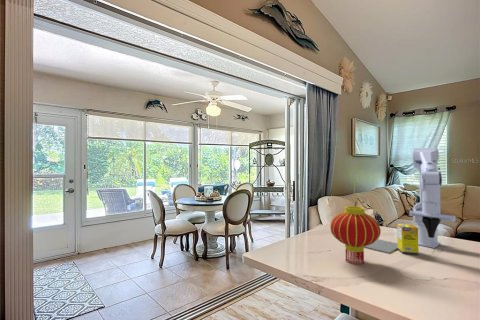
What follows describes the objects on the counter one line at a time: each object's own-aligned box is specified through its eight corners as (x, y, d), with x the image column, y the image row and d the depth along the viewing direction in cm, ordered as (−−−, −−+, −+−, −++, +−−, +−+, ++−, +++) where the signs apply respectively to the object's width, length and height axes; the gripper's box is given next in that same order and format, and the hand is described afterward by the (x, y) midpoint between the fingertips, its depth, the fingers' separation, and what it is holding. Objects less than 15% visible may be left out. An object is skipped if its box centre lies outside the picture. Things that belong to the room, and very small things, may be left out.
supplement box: (418, 255, 106) (418, 227, 106) (402, 253, 107) (401, 226, 107) (413, 250, 112) (412, 224, 112) (397, 249, 113) (396, 223, 113)
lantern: (376, 256, 104) (375, 180, 105) (384, 273, 88) (384, 183, 88) (330, 251, 110) (330, 179, 110) (330, 267, 93) (330, 182, 94)
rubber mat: (369, 238, 129) (369, 237, 129) (403, 245, 118) (403, 244, 118) (353, 244, 119) (353, 243, 119) (389, 253, 107) (389, 252, 107)
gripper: (406, 201, 106) (406, 235, 106) (452, 205, 95) (452, 243, 95) (412, 199, 111) (412, 232, 111) (456, 203, 100) (456, 239, 100)
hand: (431, 237), depth 103 cm, fingers closed
